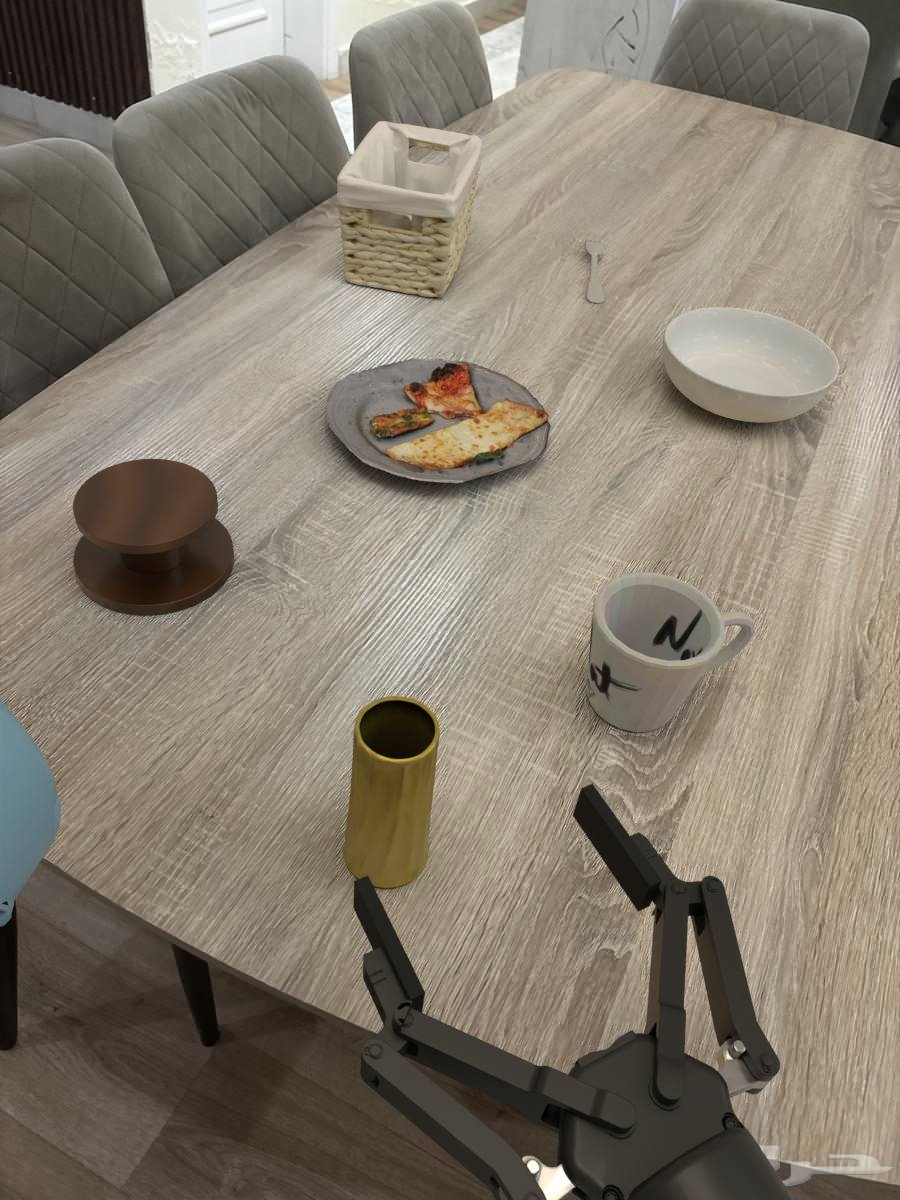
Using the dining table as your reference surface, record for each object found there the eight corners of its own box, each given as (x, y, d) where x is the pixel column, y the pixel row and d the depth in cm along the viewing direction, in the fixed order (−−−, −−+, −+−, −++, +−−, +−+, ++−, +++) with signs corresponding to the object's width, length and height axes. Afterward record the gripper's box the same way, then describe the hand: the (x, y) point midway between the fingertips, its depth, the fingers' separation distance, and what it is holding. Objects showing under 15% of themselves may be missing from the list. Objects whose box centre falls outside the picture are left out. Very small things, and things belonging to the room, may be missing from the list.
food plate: (469, 357, 118) (472, 331, 115) (588, 455, 105) (594, 429, 103) (290, 405, 106) (289, 377, 104) (399, 522, 94) (401, 494, 91)
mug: (551, 661, 82) (573, 578, 75) (702, 638, 86) (736, 557, 79) (597, 757, 75) (625, 675, 68) (759, 727, 79) (802, 646, 72)
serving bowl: (679, 337, 127) (693, 289, 122) (833, 387, 121) (854, 339, 116) (627, 406, 113) (640, 355, 108) (797, 467, 107) (820, 416, 103)
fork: (581, 316, 134) (585, 299, 131) (583, 240, 147) (586, 223, 145) (601, 319, 134) (605, 302, 131) (600, 242, 147) (604, 226, 145)
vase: (338, 819, 69) (341, 694, 59) (420, 808, 70) (436, 684, 60) (349, 895, 65) (354, 774, 55) (436, 882, 66) (457, 762, 56)
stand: (78, 626, 80) (61, 563, 75) (73, 522, 89) (58, 460, 84) (244, 602, 84) (239, 541, 79) (223, 505, 93) (217, 445, 88)
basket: (447, 307, 127) (457, 197, 116) (330, 286, 128) (331, 175, 117) (475, 237, 144) (487, 135, 134) (372, 219, 145) (376, 116, 135)
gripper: (444, 1471, 35) (257, 970, 48) (906, 1148, 45) (647, 802, 58) (464, 1455, 30) (248, 898, 43) (982, 1093, 40) (678, 727, 53)
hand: (476, 842), depth 50 cm, fingers open, 13 cm apart
